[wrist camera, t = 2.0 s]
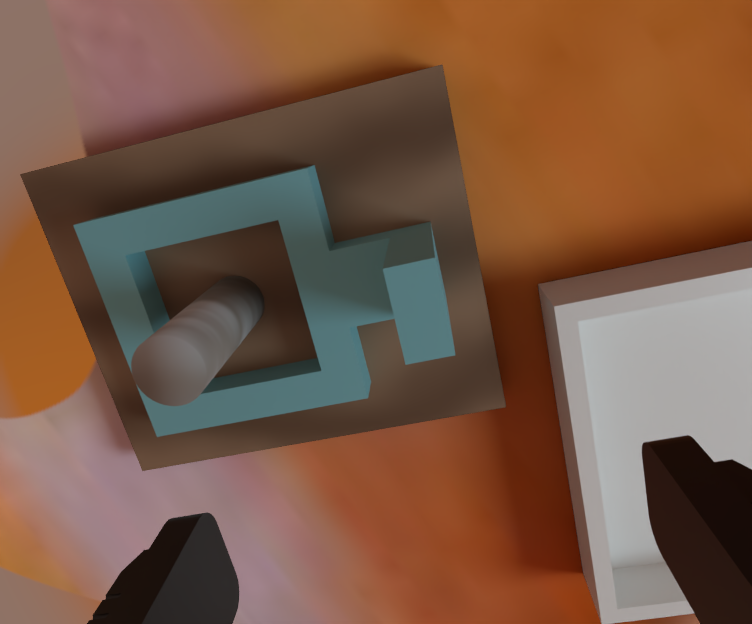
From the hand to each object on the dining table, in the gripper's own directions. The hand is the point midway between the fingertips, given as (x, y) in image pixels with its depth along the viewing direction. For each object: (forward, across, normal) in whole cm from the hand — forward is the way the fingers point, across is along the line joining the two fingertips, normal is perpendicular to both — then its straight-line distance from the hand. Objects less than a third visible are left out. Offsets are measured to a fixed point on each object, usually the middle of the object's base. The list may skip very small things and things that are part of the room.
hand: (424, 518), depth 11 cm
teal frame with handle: (+20, +8, 0) cm, 21 cm away
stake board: (+22, +8, 0) cm, 24 cm away
